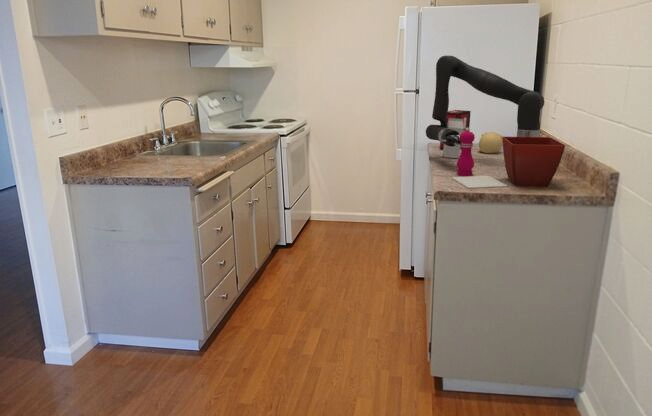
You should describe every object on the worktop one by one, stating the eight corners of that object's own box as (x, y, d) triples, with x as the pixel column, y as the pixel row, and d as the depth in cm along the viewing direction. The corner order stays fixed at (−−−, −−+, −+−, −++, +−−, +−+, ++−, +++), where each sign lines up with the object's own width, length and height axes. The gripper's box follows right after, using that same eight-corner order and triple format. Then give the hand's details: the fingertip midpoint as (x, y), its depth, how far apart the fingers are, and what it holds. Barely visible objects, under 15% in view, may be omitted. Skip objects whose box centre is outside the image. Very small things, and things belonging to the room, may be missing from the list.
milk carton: (459, 158, 249) (464, 119, 244) (444, 157, 250) (449, 118, 244) (456, 155, 256) (462, 118, 250) (442, 154, 256) (447, 117, 251)
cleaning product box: (453, 145, 286) (455, 110, 280) (468, 147, 281) (470, 110, 275) (439, 149, 274) (441, 112, 268) (455, 151, 268) (457, 113, 263)
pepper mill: (470, 177, 210) (474, 129, 204) (453, 175, 214) (456, 128, 208) (475, 174, 216) (479, 127, 210) (458, 172, 219) (462, 126, 214)
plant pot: (560, 189, 190) (566, 144, 185) (508, 187, 192) (512, 144, 188) (546, 177, 208) (550, 136, 203) (498, 176, 211) (501, 136, 206)
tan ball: (503, 151, 266) (505, 131, 263) (497, 155, 256) (499, 134, 253) (482, 150, 272) (483, 130, 269) (475, 153, 262) (477, 132, 259)
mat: (450, 178, 209) (450, 177, 209) (487, 176, 211) (487, 175, 211) (468, 188, 192) (468, 187, 192) (507, 186, 194) (508, 185, 194)
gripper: (435, 129, 229) (449, 134, 212) (463, 128, 231) (479, 133, 214) (434, 145, 231) (447, 152, 215) (462, 144, 233) (477, 151, 216)
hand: (463, 142), depth 214 cm, fingers closed
